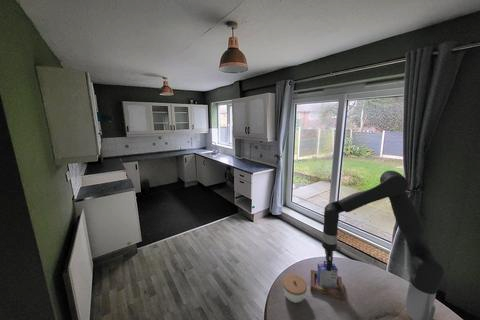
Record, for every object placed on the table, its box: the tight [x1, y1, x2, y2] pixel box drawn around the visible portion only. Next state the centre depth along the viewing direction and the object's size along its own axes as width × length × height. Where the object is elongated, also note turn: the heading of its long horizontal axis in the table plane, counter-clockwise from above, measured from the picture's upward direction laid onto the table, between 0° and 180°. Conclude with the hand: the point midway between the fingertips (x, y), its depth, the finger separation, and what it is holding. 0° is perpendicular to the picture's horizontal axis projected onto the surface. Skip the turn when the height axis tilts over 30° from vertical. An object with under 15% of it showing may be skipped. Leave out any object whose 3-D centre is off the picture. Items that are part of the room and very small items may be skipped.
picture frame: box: [309, 269, 345, 302], centre depth 111 cm, size 17×13×4 cm
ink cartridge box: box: [316, 260, 339, 288], centre depth 110 cm, size 10×6×14 cm, turn 87°
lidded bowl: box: [282, 273, 308, 304], centre depth 104 cm, size 13×13×11 cm
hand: (328, 265), depth 108 cm, fingers open, 8 cm apart
